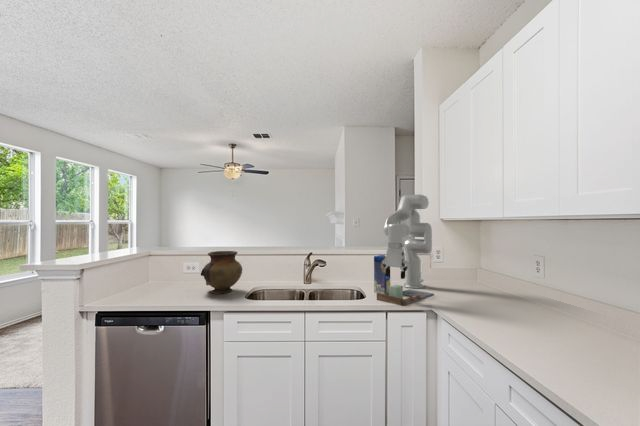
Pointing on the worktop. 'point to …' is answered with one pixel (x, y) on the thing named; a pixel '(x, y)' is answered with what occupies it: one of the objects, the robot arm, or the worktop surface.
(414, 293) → the mat
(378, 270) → the beverage box
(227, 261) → the pot
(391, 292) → the block
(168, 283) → the worktop surface
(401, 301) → the brown wooden frame
